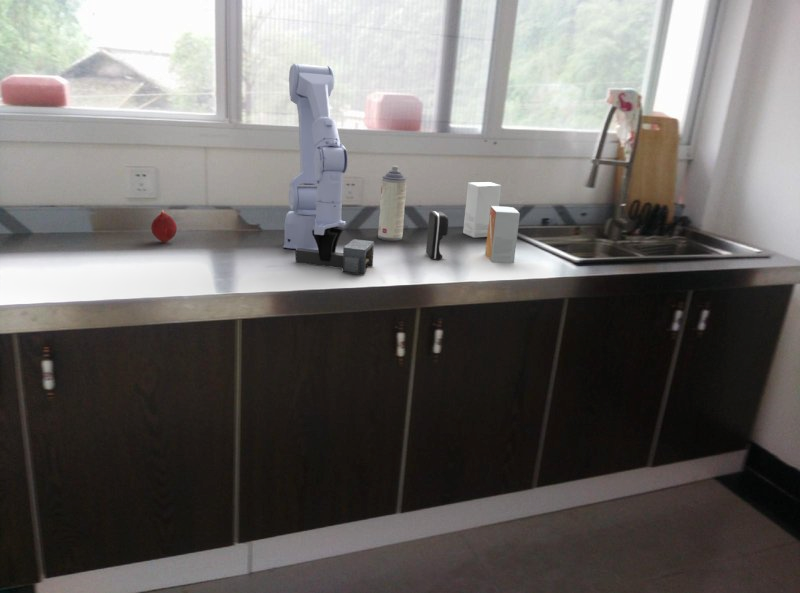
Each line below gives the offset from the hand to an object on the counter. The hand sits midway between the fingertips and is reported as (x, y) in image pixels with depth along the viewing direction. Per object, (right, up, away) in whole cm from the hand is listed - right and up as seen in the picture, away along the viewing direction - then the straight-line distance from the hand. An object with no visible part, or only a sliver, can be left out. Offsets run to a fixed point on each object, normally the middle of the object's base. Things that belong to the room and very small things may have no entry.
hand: (326, 259), depth 149 cm
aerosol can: (+14, +8, +32) cm, 36 cm away
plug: (+1, -1, 0) cm, 2 cm away
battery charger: (+26, +1, +16) cm, 31 cm away
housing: (+7, -2, -1) cm, 8 cm away
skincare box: (+41, +10, +44) cm, 61 cm away
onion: (-41, +4, +9) cm, 42 cm away
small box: (+43, +1, +19) cm, 47 cm away
